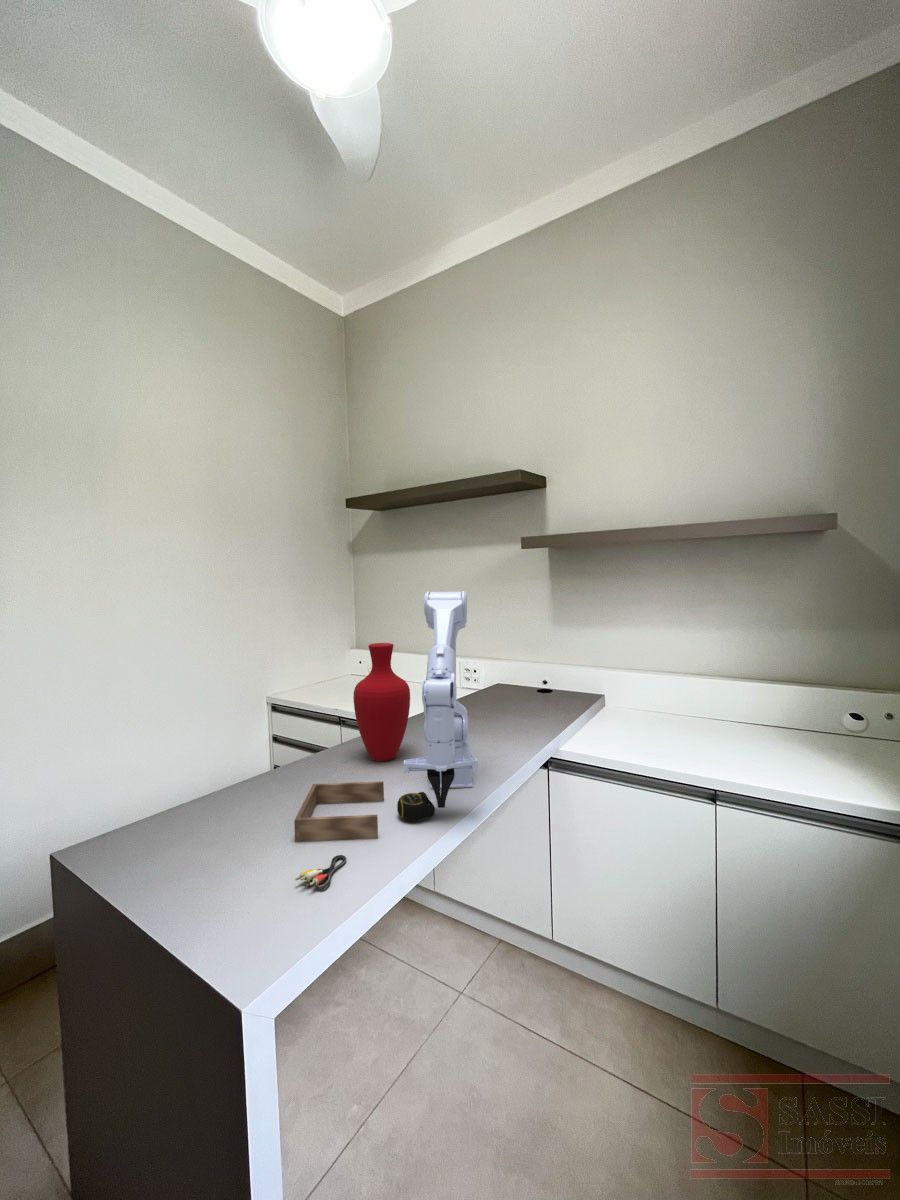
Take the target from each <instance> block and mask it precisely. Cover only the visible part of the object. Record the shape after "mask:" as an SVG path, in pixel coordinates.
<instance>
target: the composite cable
mask: <svg viewBox="0 0 900 1200" xmlns="http://www.w3.org/2000/svg"><path fill="white" fill-rule="evenodd" d="M339 861H341V862H340V863H339V864H337V865H336V863H337V862H339ZM346 864H347V857H346V855H343V854H337V855H336V856H333V857H332V859H331V862H330V866H329V867H328V868H324V869H322V868H316V869H312V868H311V869H308V870H305V871H302V872H301V873H300V874H299V876H296V877H295V878H294V880H295V881H299V880H300V881H307V883H305V886H304V887H305V889H308V888H310V887H313V886H315V889H316V891H317V892H323V891H326V890H327V889H328V888H329V887H330V885H331V882H332V877H333V876H334V874H335V873H337V872H338V871H339V870H340V869H341V868H343V867H344V866H345V865H346ZM326 880H327V881H326ZM324 881H325V883H323V882H324Z"/></svg>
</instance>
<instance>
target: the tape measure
mask: <svg viewBox="0 0 900 1200" xmlns="http://www.w3.org/2000/svg"><path fill="white" fill-rule="evenodd" d="M396 806H397V807H396V809H397V814H398V816H399V818H401V819H402V820H404V821H407V822H419V821H423V820H427V819H430V818H432V817H434V816H435V814H436V810H435V809H436V808H435V805H434V804H433V802H432V801H431V800H430V798H429V797H428V796H427V794H426V793H425V792H424V791H419V792H408V793H406V794H405V793H404V794H403V795H401V796H400V797H399V798H398V801H397V805H396Z"/></svg>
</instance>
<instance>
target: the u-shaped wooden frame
mask: <svg viewBox="0 0 900 1200" xmlns="http://www.w3.org/2000/svg"><path fill="white" fill-rule="evenodd" d="M384 785H385V784H384V781H359V782H357V781H356V782H354V781H353V782H332V783H331V782H329V783H313V784H312V786H311V787H310V789H309V791H308V793H307V795H306V796H305V799H304V801H303V803H302V805H301V807H300V809H299V810H298V812H297V814H296V816H295V818H294V820H293V822H294V824H293V825H294V842H295V843H298V842H322V841H343V840H346V841H347V840H365V839H366V840H368V839H379V838H378V837H379V825H378V823H379V820H378V818H379V815H378V814H365V815H364V814H361V815H360V814H359V815H358V814H357V815H337V816H317V817H316V816H315V817H312V815H313V813H314V811H315V809H316V807H317V805H327V804H329V805H330V804H350V803H351V804H355V803H358V804H359V803H375V802H377V803H380V802H382V803H383V802H384V800H385V793H384V791H385V789H384Z"/></svg>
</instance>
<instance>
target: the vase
mask: <svg viewBox="0 0 900 1200" xmlns="http://www.w3.org/2000/svg"><path fill="white" fill-rule="evenodd" d="M368 650H369V654H370V660H371V669H370V672H369V673H368V674H367V676H365V677H364V678H363V679H361V680H360V681H359V682H357V683H356V685H355V686H354V690H353V707H354V715H355V721H356V724H357V728H358V732H359V735H360V737H361V740H362V743H363V744H364V747H365V750H366V751H367V753H368V756H369V758H370V759H371V760H373V761H376V762H387V761H391V760H394V759H395V758H396V757H397V755H398V753H399V750H400V748H401V745H402V742H403V740H404V737H405V734H406V730H407V726H408V721H409V716H410V708H411V691H410V686H409V684H408V682H407V681H406V680H405V679H403V678H402V677H400V676H398V675H397V674H396V673H395V672H394V671H393V669H392V663H391V662H392V655H393V650H394V644H393V643H391V642H376V643H375V642H373V643H370V644H368Z"/></svg>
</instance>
